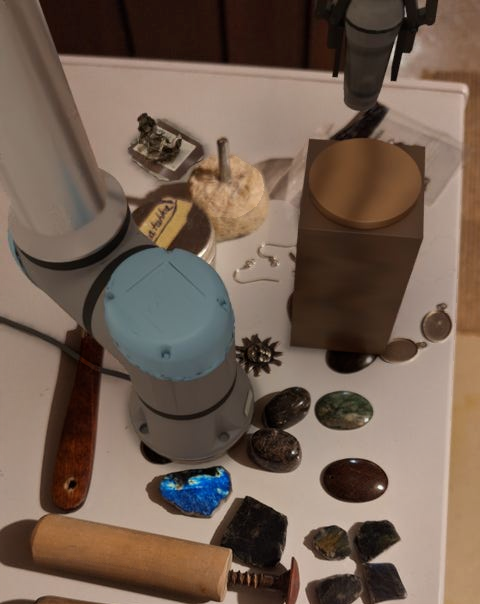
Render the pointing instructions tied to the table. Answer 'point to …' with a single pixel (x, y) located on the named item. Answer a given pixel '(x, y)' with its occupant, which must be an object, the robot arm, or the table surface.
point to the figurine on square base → (164, 148)
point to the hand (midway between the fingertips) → (364, 72)
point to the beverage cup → (369, 48)
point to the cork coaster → (364, 183)
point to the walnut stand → (351, 272)
